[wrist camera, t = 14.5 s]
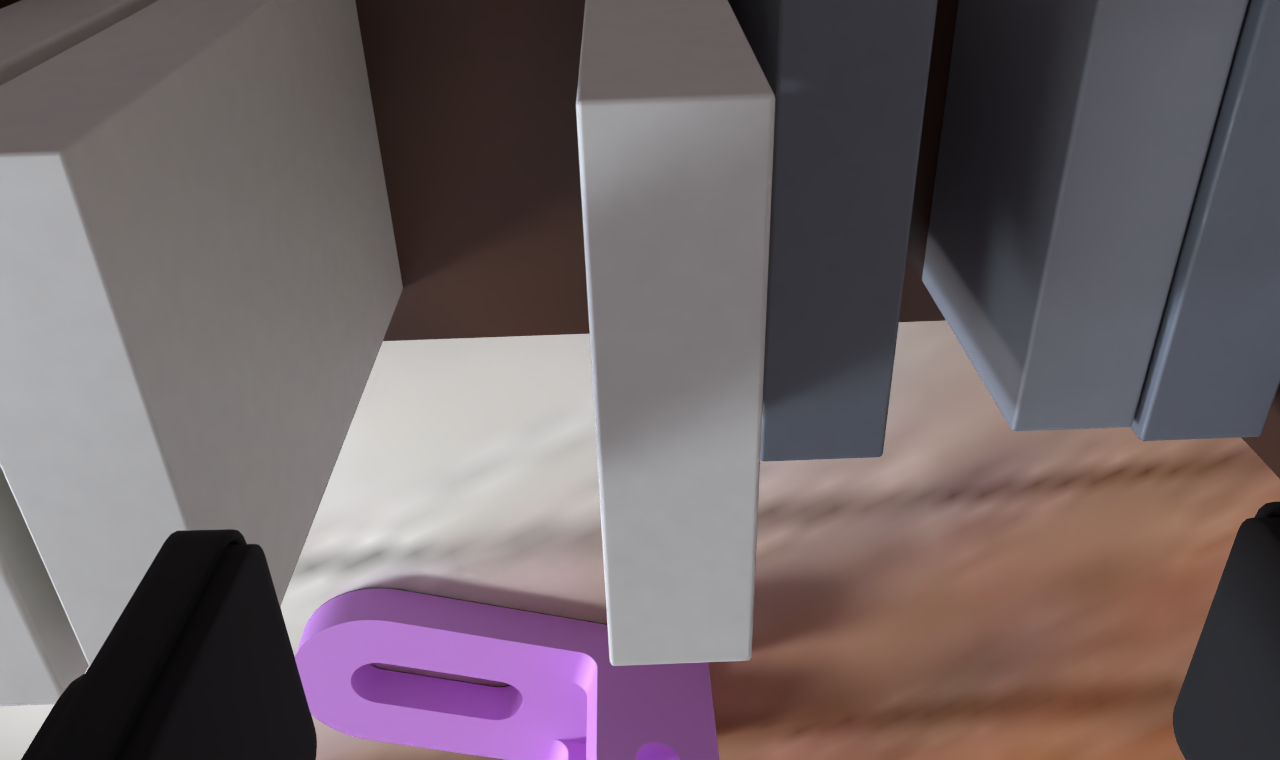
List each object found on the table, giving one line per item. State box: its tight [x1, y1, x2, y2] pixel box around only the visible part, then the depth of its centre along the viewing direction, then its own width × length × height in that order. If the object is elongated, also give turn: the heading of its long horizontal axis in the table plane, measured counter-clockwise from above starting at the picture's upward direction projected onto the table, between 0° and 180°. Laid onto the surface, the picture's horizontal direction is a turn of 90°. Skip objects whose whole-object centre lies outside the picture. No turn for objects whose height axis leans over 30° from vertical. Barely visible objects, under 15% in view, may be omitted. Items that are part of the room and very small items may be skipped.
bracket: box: [295, 588, 719, 760], centre depth 31 cm, size 13×6×7 cm, turn 75°
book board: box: [0, 0, 1280, 478], centre depth 20 cm, size 26×11×9 cm, turn 91°
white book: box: [576, 0, 776, 666], centre depth 18 cm, size 2×8×13 cm, turn 2°
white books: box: [0, 0, 403, 706], centre depth 18 cm, size 4×8×13 cm, turn 2°
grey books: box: [729, 0, 1280, 461], centre depth 20 cm, size 10×9×7 cm
